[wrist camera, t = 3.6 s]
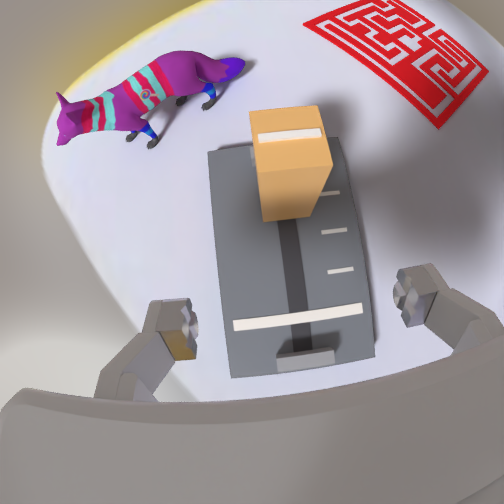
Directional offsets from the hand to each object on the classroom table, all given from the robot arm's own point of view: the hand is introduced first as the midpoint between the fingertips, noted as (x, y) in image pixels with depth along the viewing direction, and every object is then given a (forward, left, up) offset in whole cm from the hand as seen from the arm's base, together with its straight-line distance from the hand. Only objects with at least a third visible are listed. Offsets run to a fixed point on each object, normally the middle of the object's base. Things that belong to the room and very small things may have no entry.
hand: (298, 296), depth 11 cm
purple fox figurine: (-13, -15, -12) cm, 23 cm away
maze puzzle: (-34, +7, -13) cm, 37 cm away
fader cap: (-7, -2, -10) cm, 13 cm away
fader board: (-3, -1, -12) cm, 12 cm away
